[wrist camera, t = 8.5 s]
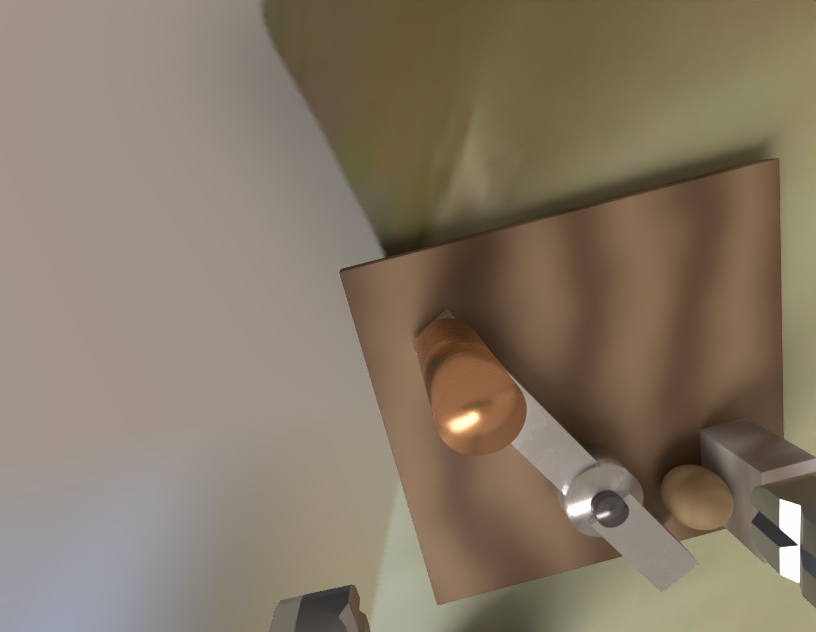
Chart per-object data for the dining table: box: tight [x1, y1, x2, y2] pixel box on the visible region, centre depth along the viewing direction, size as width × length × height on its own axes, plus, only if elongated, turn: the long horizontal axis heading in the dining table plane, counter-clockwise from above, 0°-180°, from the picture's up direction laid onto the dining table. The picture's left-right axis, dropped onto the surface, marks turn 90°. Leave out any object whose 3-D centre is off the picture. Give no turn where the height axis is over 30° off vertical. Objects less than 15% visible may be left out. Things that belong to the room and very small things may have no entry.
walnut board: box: [340, 158, 816, 605], centre depth 24 cm, size 24×23×6 cm
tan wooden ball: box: [661, 464, 734, 530], centre depth 25 cm, size 4×4×4 cm
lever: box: [412, 308, 699, 592], centre depth 21 cm, size 4×22×9 cm, turn 44°
